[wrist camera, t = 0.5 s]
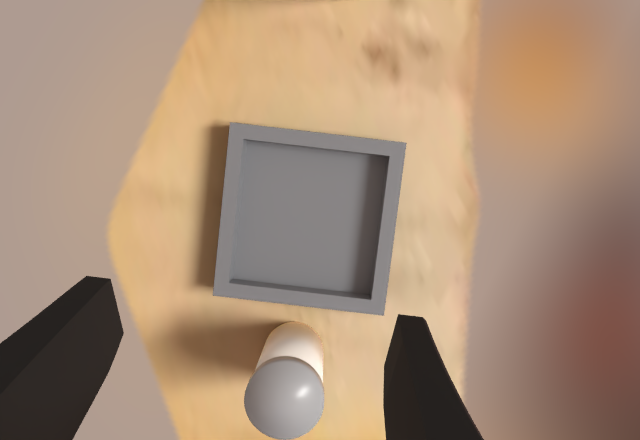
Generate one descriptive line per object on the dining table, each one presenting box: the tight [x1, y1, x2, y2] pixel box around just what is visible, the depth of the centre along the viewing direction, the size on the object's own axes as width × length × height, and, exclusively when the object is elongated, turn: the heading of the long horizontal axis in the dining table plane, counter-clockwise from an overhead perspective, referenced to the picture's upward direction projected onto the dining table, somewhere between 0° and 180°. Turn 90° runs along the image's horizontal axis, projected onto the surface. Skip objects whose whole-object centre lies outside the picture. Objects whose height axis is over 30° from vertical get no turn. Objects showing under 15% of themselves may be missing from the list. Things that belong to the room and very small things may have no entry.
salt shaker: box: [244, 322, 324, 440], centre depth 32 cm, size 5×5×8 cm
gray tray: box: [213, 122, 406, 316], centre depth 34 cm, size 12×12×2 cm
